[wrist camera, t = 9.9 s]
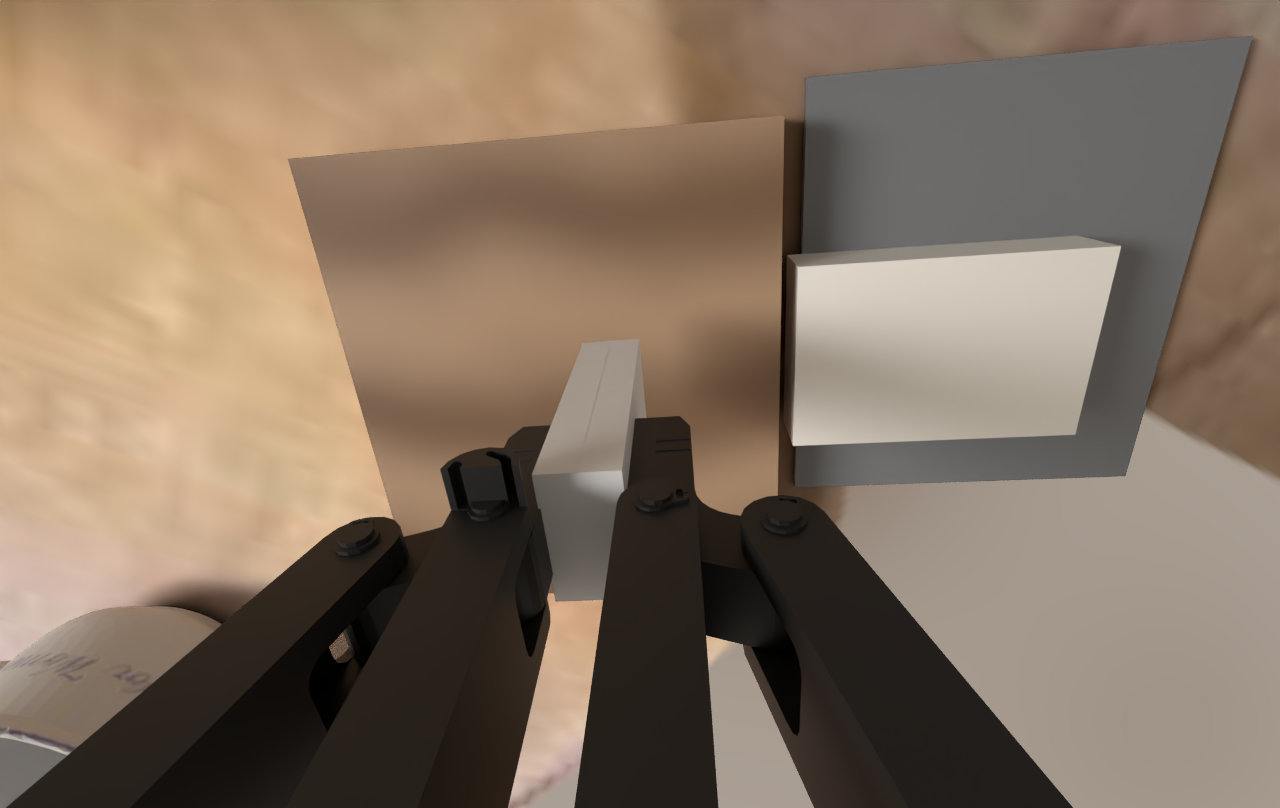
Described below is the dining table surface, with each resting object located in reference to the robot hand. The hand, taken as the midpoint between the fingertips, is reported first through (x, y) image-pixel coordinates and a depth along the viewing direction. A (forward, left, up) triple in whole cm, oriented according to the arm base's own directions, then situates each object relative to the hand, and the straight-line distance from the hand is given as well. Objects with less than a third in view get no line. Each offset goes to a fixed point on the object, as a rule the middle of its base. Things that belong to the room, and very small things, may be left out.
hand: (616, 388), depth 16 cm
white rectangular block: (+1, +10, -5) cm, 11 cm away
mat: (0, +12, -6) cm, 13 cm away
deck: (+2, -2, -6) cm, 6 cm away
